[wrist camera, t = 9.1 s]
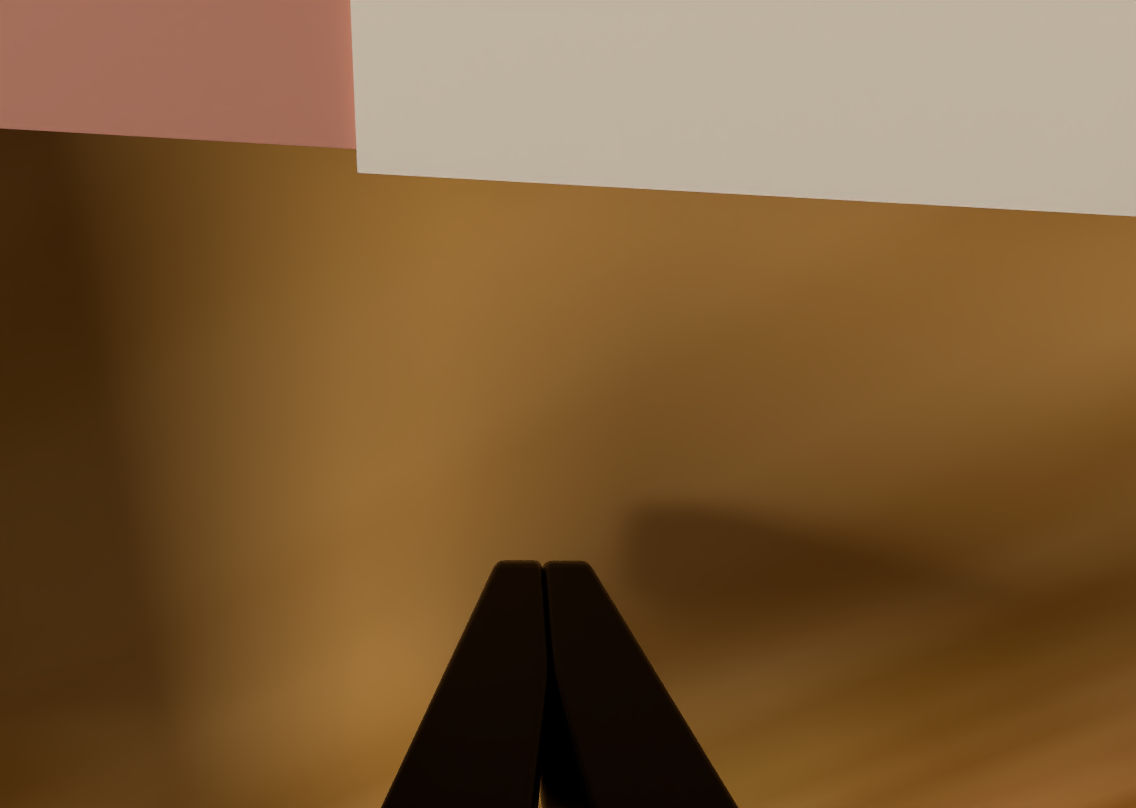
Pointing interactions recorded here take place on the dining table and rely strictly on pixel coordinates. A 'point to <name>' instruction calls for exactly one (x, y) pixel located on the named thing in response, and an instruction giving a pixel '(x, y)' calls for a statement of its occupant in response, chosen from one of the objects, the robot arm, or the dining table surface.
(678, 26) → the carton
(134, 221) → the dining table surface
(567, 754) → the robot arm
